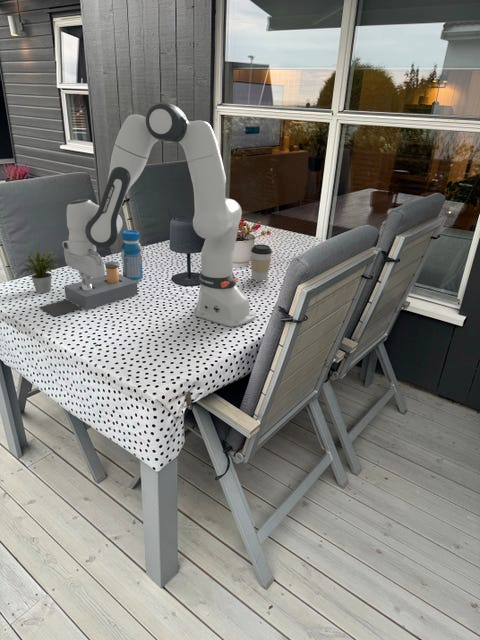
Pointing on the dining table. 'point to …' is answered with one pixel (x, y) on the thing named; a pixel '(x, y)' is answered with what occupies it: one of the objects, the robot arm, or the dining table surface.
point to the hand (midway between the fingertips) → (86, 283)
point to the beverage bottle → (132, 255)
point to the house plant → (41, 272)
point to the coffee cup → (260, 261)
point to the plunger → (86, 287)
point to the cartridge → (112, 272)
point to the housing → (100, 292)
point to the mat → (60, 308)
